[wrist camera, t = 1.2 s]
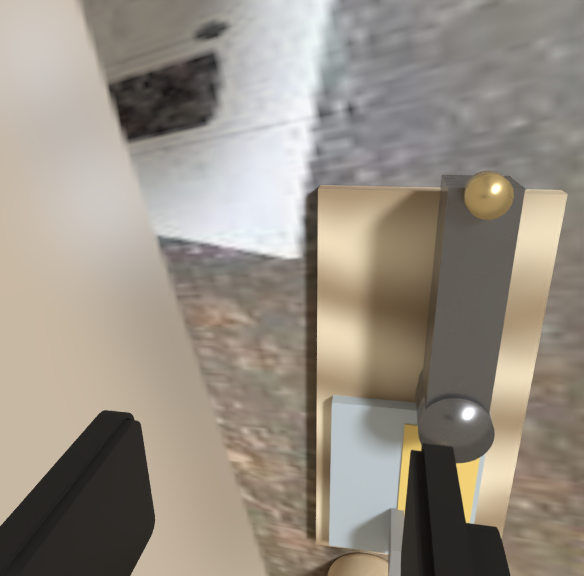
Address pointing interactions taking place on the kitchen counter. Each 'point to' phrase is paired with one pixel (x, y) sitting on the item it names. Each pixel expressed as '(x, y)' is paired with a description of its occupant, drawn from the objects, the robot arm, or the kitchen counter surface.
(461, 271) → the latch bar
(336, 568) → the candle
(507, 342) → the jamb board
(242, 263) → the kitchen counter surface
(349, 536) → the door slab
